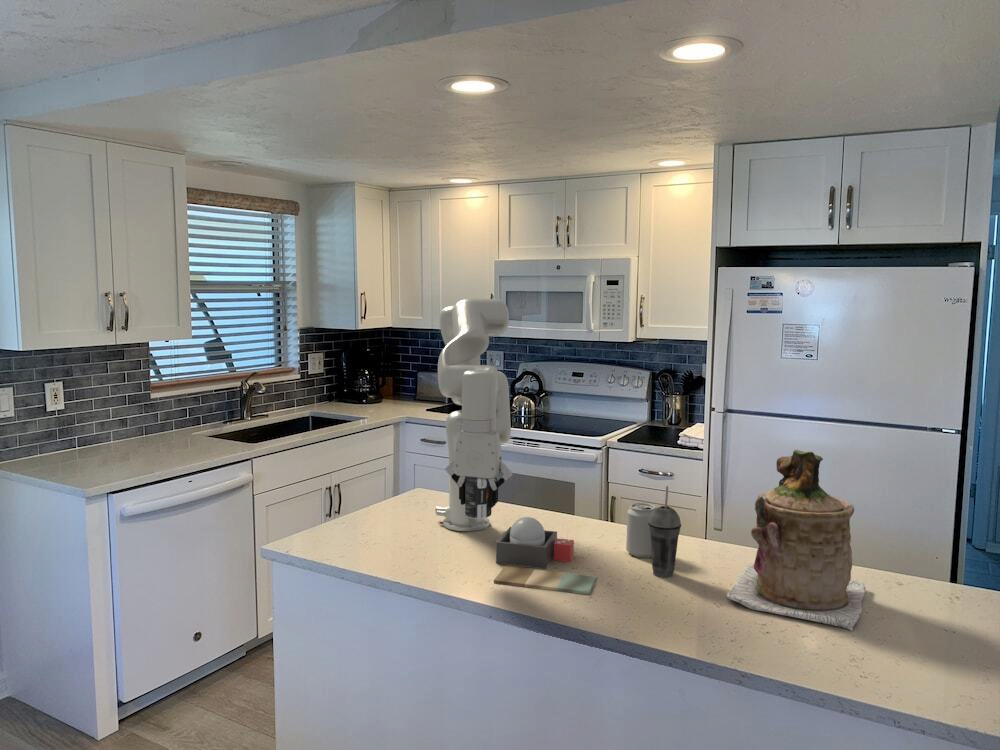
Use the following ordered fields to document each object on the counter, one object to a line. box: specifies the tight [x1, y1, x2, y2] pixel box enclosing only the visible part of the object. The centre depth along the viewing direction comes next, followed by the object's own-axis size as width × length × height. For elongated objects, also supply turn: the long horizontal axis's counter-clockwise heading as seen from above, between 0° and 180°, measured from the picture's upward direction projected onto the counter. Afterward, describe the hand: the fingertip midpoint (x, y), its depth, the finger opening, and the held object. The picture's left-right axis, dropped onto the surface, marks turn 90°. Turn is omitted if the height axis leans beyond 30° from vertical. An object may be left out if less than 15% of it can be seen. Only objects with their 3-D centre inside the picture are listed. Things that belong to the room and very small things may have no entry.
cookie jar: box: [726, 449, 866, 632], centre depth 152 cm, size 25×25×32 cm
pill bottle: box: [465, 477, 493, 519], centre depth 165 cm, size 6×6×11 cm
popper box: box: [495, 526, 575, 570], centre depth 175 cm, size 16×12×5 cm
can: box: [625, 502, 657, 559], centre depth 179 cm, size 8×8×12 cm
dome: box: [510, 516, 545, 546], centre depth 176 cm, size 8×8×8 cm
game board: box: [493, 565, 597, 595], centre depth 162 cm, size 21×9×1 cm, turn 73°
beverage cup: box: [648, 485, 682, 579], centre depth 165 cm, size 7×7×20 cm
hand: (478, 503), depth 165 cm, fingers closed on pill bottle, 6 cm apart
